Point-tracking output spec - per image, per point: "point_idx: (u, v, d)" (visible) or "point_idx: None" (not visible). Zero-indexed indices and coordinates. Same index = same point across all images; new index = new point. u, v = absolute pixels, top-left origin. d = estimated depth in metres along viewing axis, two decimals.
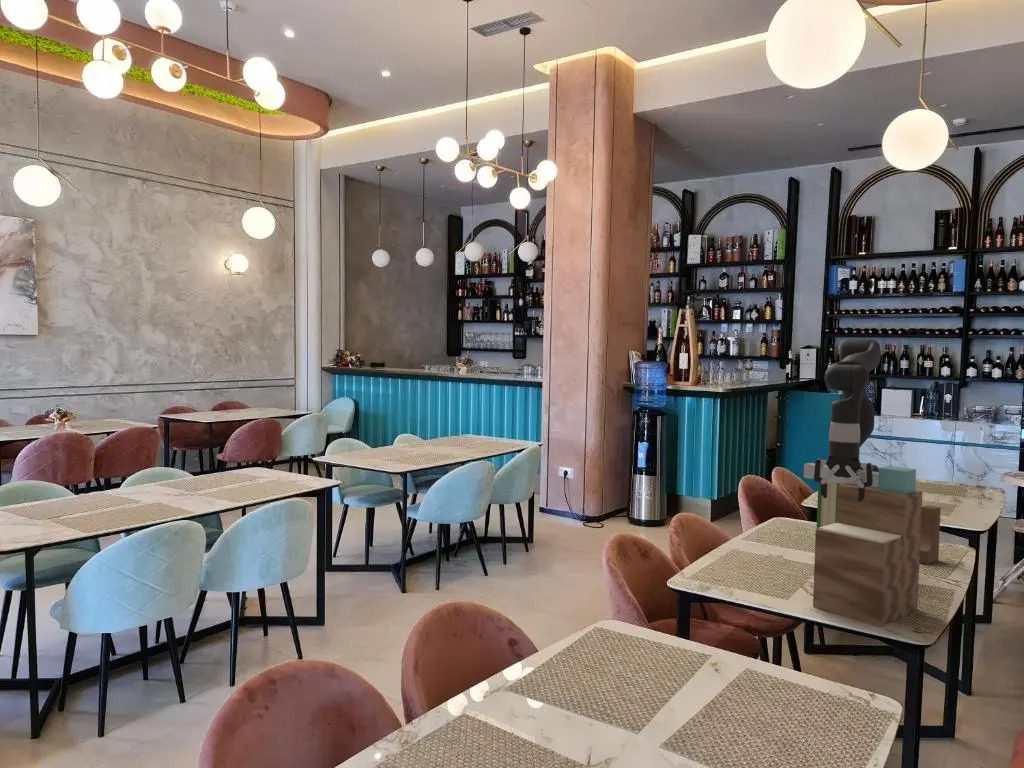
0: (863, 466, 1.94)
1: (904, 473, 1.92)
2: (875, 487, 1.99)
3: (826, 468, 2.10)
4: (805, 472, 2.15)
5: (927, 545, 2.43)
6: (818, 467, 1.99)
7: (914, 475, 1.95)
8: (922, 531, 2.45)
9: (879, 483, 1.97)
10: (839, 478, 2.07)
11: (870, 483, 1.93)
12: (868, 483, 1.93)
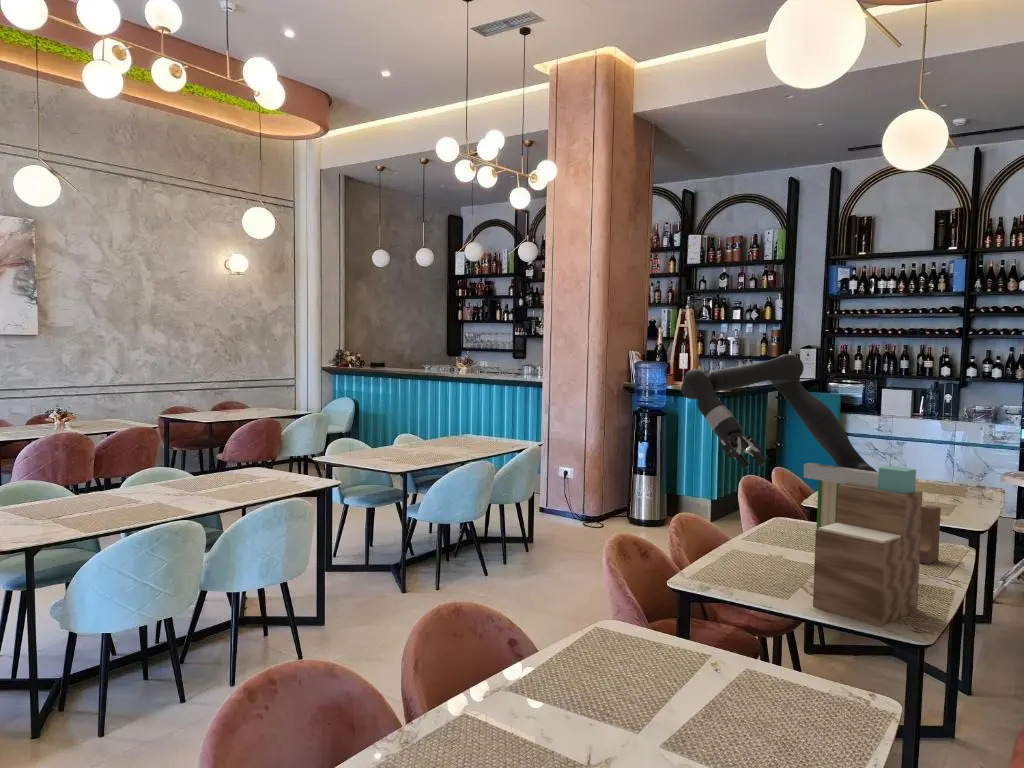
0: (746, 438, 2.27)
1: (904, 473, 1.92)
2: (875, 487, 1.99)
3: (826, 468, 2.10)
4: (805, 472, 2.15)
5: (927, 545, 2.43)
6: (729, 442, 2.19)
7: (914, 475, 1.95)
8: (922, 531, 2.45)
9: (879, 483, 1.97)
10: (839, 478, 2.07)
11: (760, 447, 2.26)
12: (759, 447, 2.25)
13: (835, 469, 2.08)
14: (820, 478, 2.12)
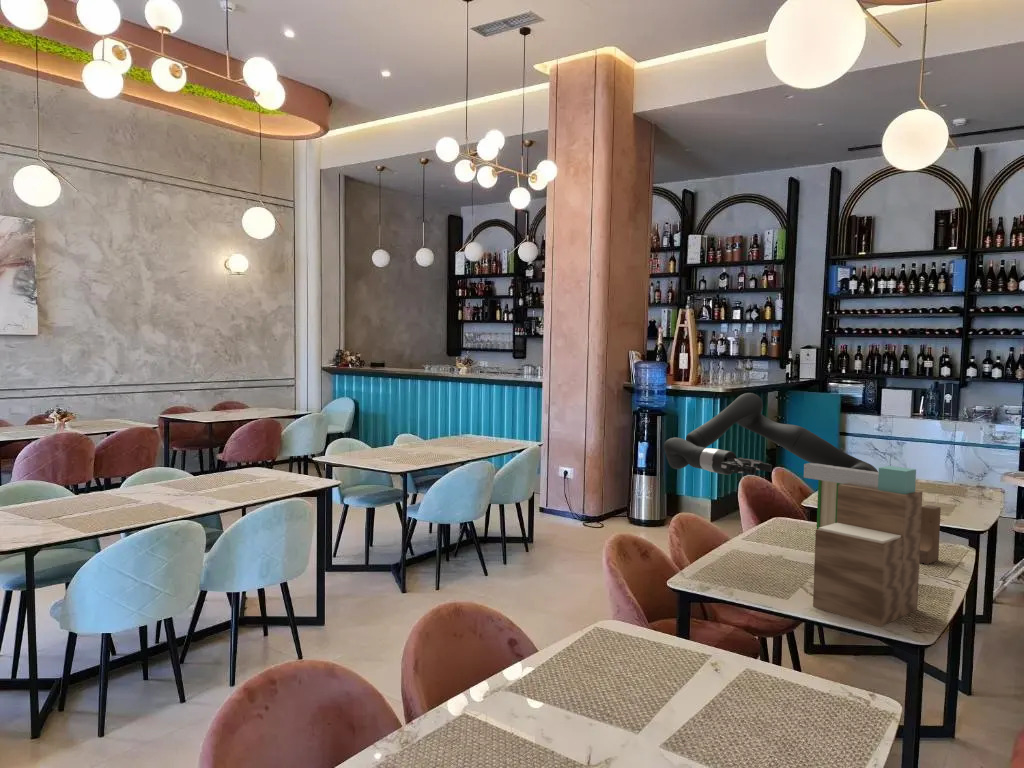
0: None
1: (904, 473, 1.92)
2: (875, 487, 1.99)
3: (826, 468, 2.10)
4: (805, 472, 2.15)
5: (927, 545, 2.43)
6: (728, 462, 2.24)
7: (914, 475, 1.95)
8: (922, 531, 2.45)
9: (879, 483, 1.97)
10: (839, 478, 2.07)
11: None
12: (760, 461, 2.29)
13: (835, 469, 2.08)
14: (820, 478, 2.12)
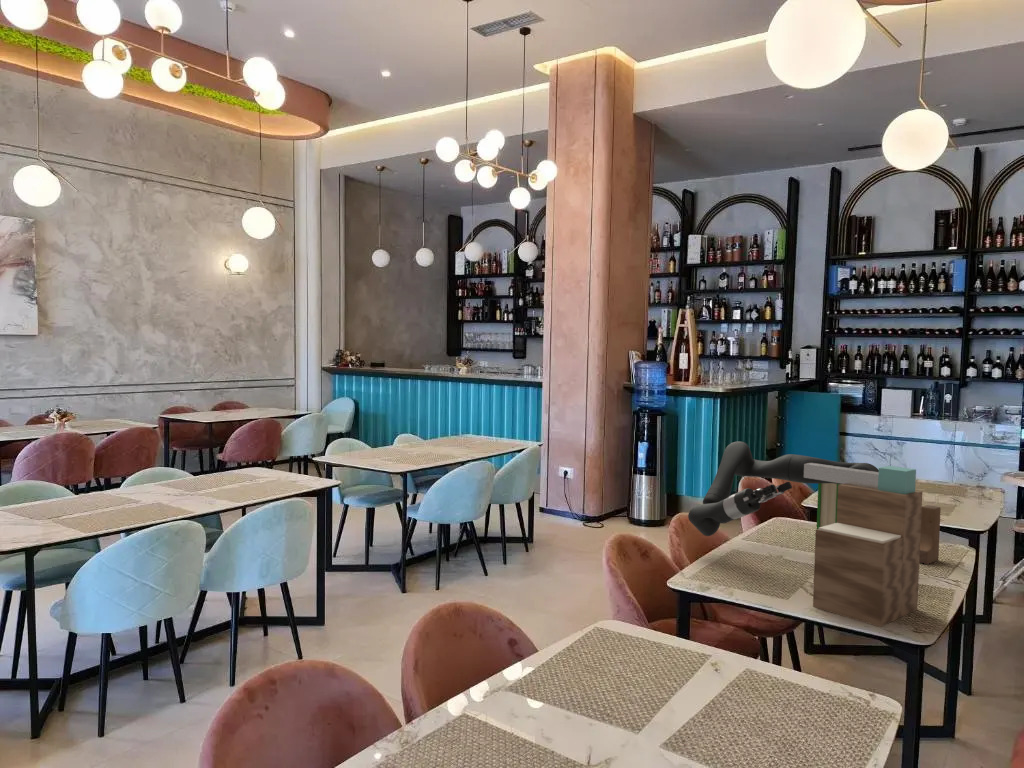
0: None
1: (904, 473, 1.92)
2: (875, 487, 1.99)
3: (826, 468, 2.10)
4: (805, 472, 2.15)
5: (927, 545, 2.43)
6: (748, 493, 2.26)
7: (914, 475, 1.95)
8: (922, 531, 2.45)
9: (879, 483, 1.97)
10: (839, 478, 2.07)
11: None
12: None
13: (835, 469, 2.08)
14: (820, 478, 2.12)
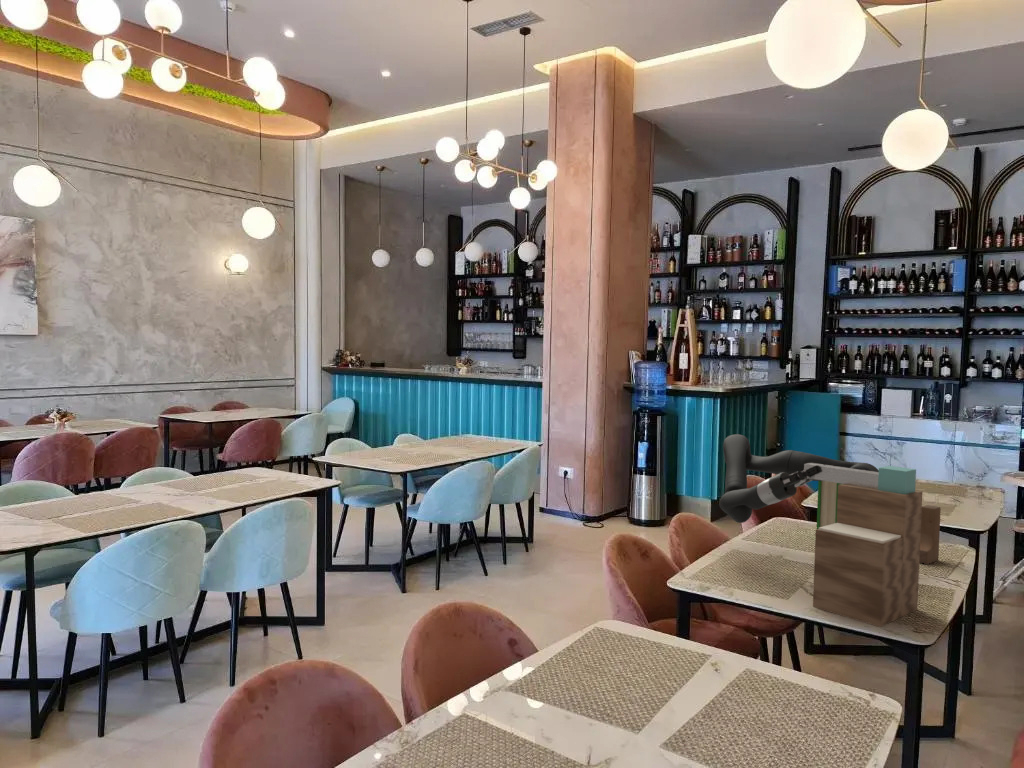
0: None
1: (904, 473, 1.92)
2: (875, 487, 1.99)
3: (826, 468, 2.10)
4: None
5: (927, 545, 2.43)
6: (789, 475, 2.16)
7: (914, 475, 1.95)
8: (922, 531, 2.45)
9: (879, 483, 1.97)
10: (839, 478, 2.07)
11: None
12: None
13: (835, 469, 2.08)
14: (820, 478, 2.12)
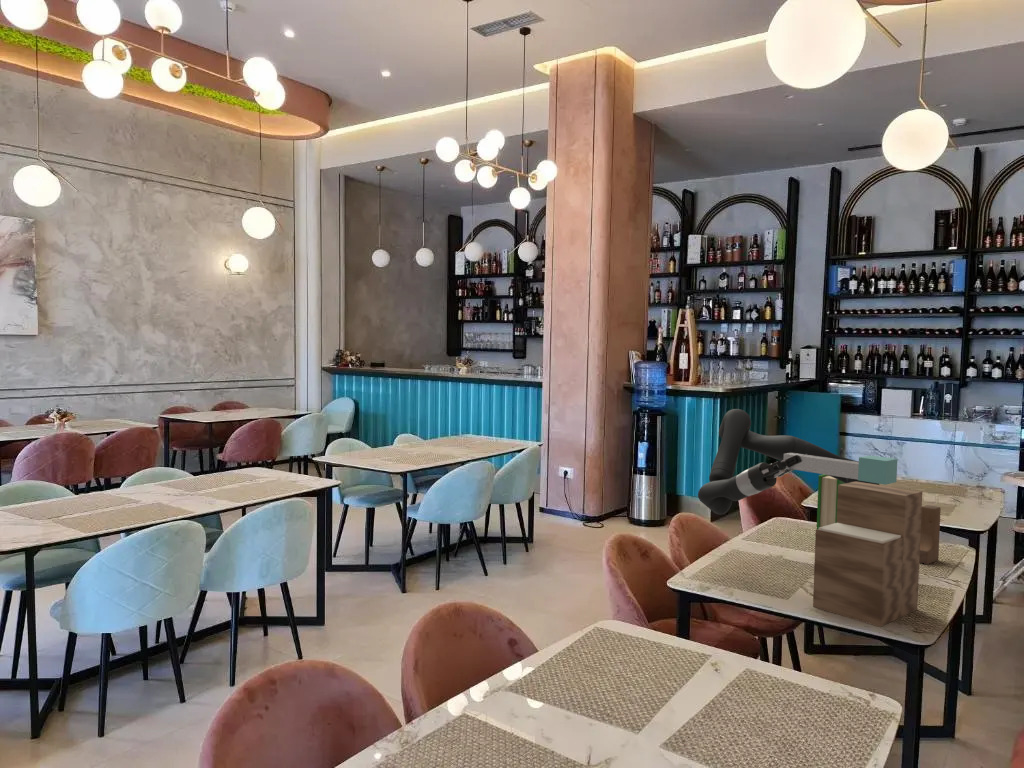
0: None
1: (884, 463, 1.85)
2: (855, 477, 1.92)
3: (806, 458, 2.03)
4: None
5: (927, 545, 2.43)
6: (767, 466, 2.09)
7: (895, 465, 1.88)
8: (922, 531, 2.45)
9: (859, 473, 1.90)
10: (819, 468, 2.00)
11: None
12: None
13: (815, 459, 2.01)
14: (800, 468, 2.05)
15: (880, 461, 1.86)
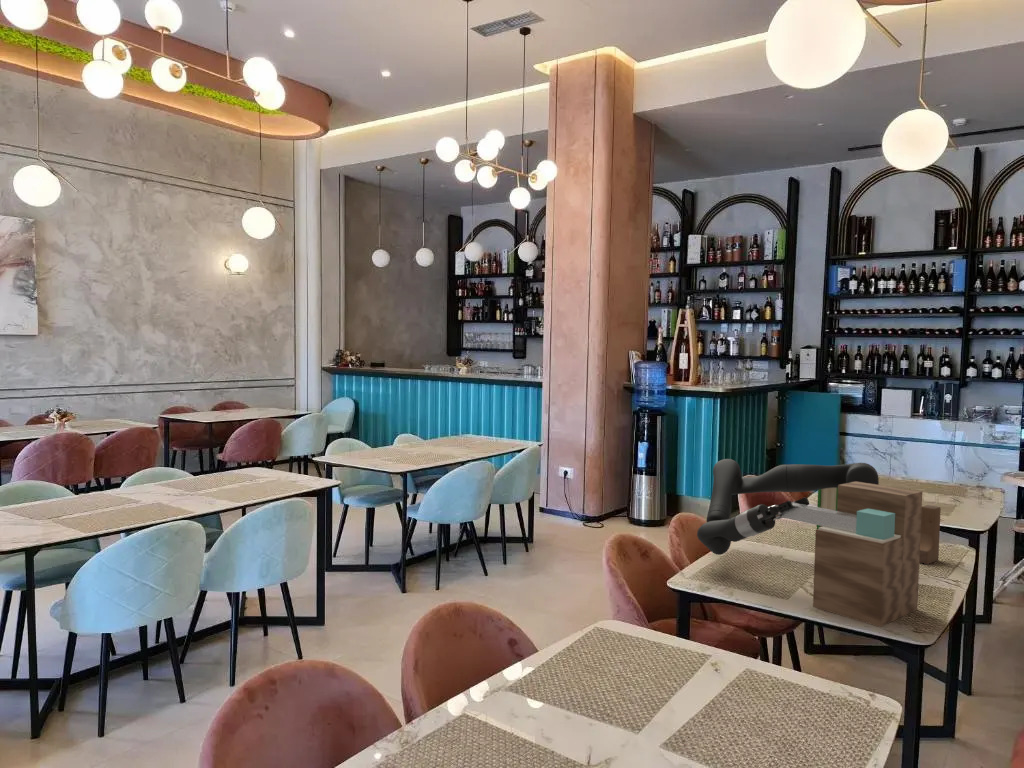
0: None
1: (882, 518, 1.86)
2: (853, 531, 1.93)
3: (804, 509, 2.04)
4: (783, 512, 2.09)
5: (927, 545, 2.43)
6: None
7: (893, 519, 1.89)
8: (922, 531, 2.45)
9: (857, 527, 1.91)
10: (817, 519, 2.01)
11: None
12: None
13: (813, 510, 2.02)
14: (798, 519, 2.05)
15: (878, 516, 1.87)
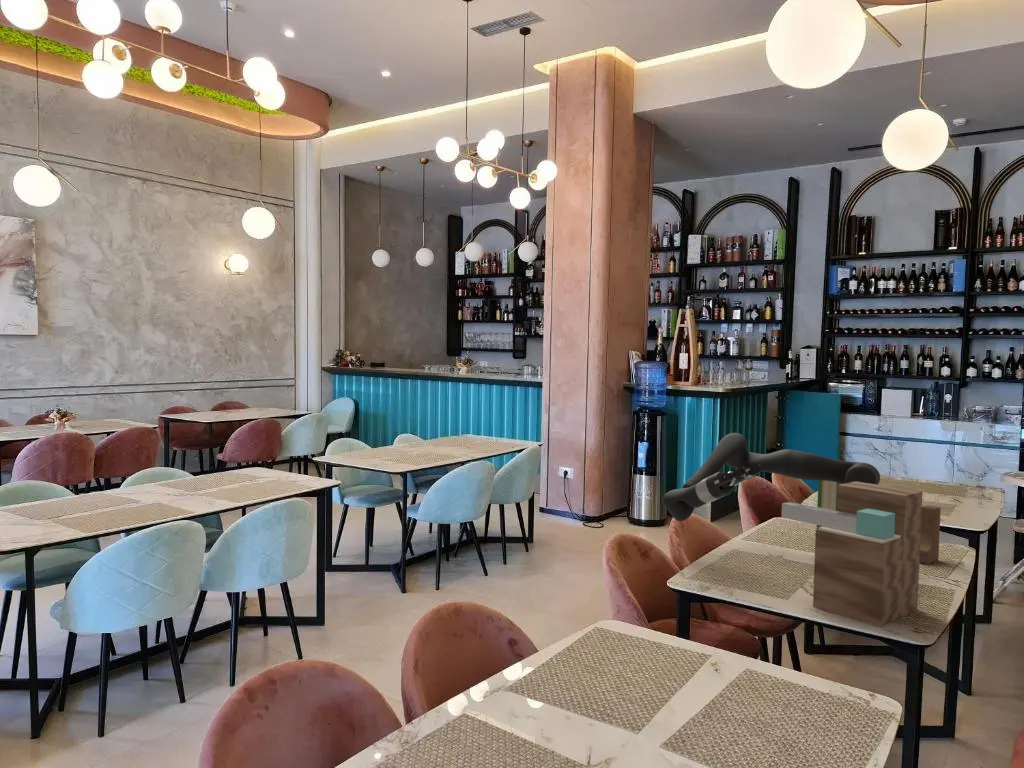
0: None
1: (882, 518, 1.86)
2: (853, 531, 1.93)
3: (804, 509, 2.04)
4: (783, 512, 2.09)
5: (927, 545, 2.43)
6: (719, 476, 2.27)
7: (893, 519, 1.89)
8: (922, 531, 2.45)
9: (857, 527, 1.91)
10: (817, 519, 2.01)
11: None
12: None
13: (813, 510, 2.02)
14: (798, 519, 2.05)
15: (878, 516, 1.87)
